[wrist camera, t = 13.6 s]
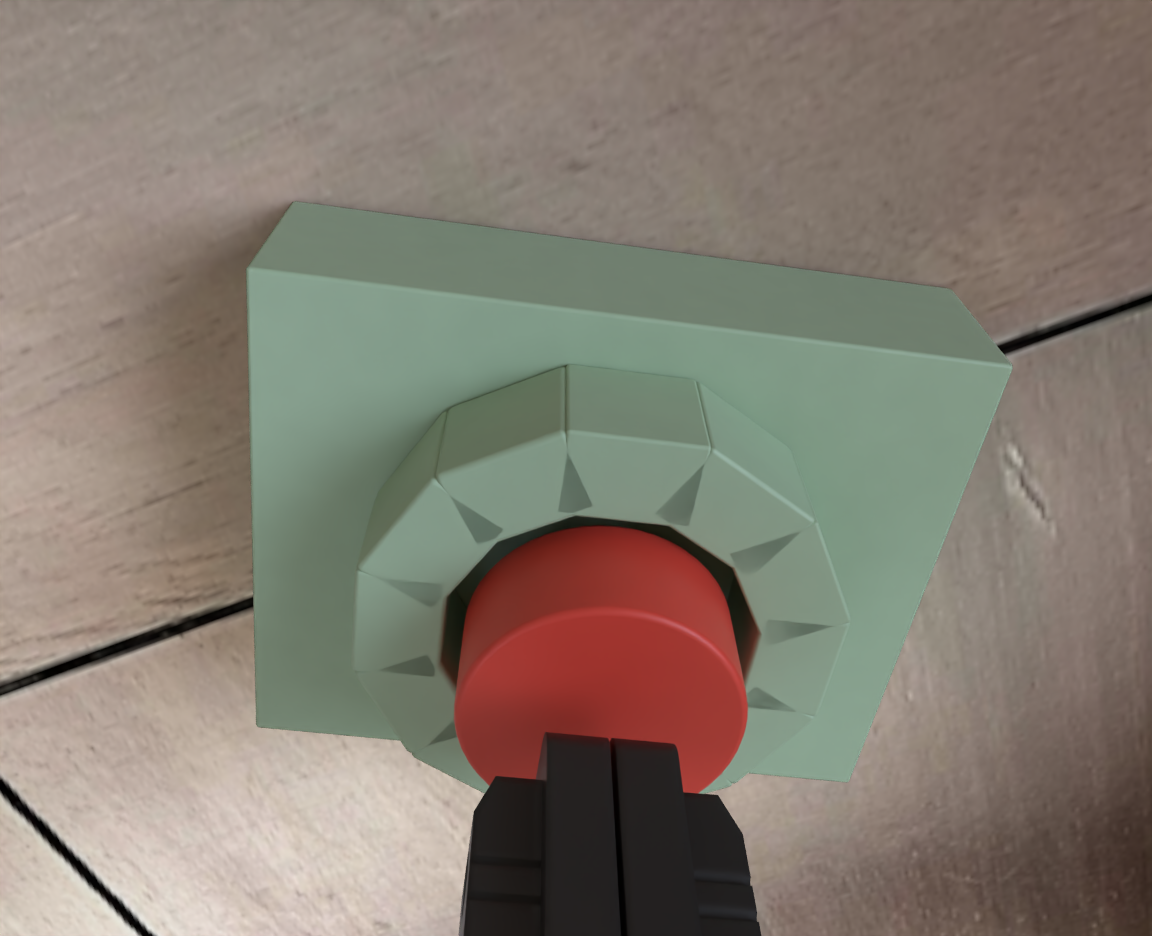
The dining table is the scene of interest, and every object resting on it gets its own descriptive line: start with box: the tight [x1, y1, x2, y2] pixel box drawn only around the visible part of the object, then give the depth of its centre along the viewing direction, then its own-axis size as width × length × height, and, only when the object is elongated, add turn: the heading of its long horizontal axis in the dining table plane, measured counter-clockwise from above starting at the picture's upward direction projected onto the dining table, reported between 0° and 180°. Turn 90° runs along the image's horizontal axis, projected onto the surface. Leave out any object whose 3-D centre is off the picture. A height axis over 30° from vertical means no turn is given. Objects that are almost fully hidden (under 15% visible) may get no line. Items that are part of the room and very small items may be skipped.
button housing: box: [246, 201, 1012, 794], centre depth 16 cm, size 10×8×4 cm
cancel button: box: [454, 525, 748, 793], centre depth 14 cm, size 4×4×2 cm
